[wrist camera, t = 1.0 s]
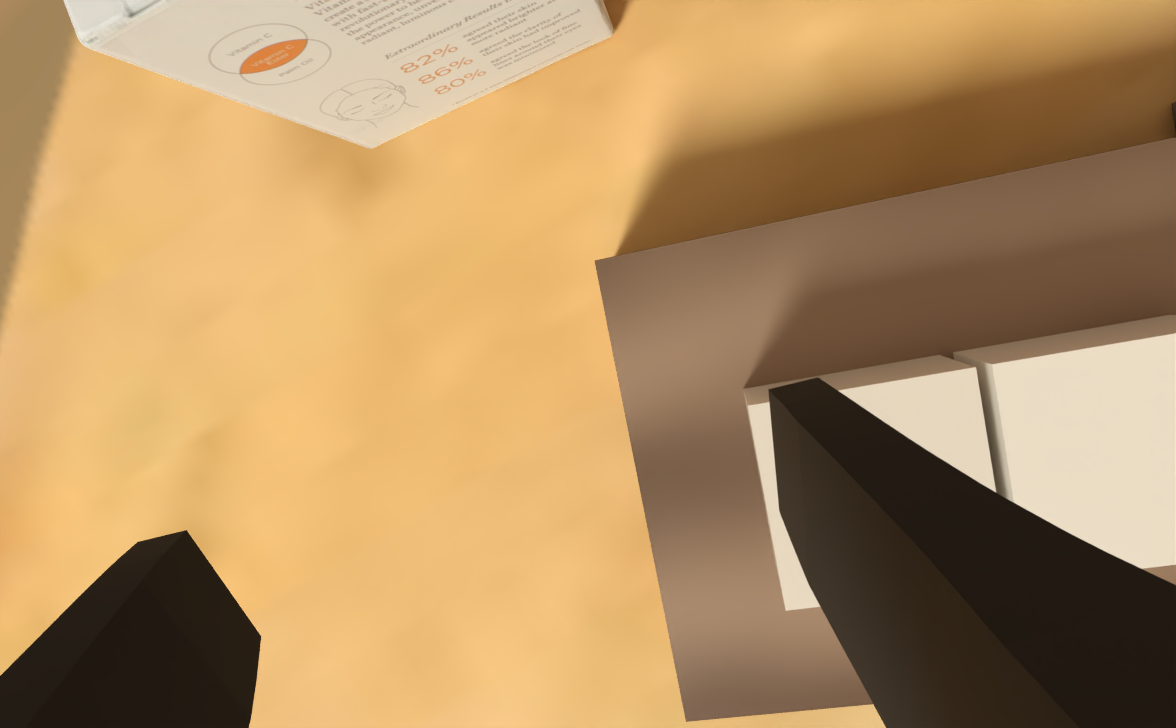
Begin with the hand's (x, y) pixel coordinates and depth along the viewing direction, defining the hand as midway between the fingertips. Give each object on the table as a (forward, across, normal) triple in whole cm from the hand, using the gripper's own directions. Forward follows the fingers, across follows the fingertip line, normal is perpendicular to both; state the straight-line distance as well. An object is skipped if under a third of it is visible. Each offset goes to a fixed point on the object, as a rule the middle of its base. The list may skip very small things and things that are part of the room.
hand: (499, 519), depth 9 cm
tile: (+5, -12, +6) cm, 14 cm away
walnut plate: (+8, -9, +8) cm, 15 cm away
